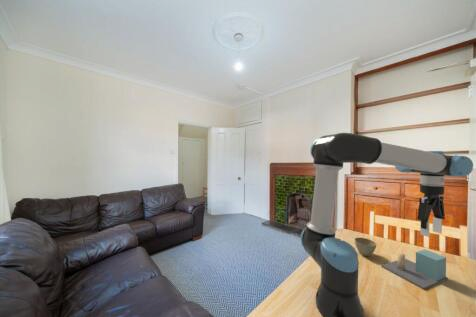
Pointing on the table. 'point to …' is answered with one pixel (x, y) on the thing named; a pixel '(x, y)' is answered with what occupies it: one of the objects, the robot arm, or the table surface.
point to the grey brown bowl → (365, 246)
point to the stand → (410, 272)
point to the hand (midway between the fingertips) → (431, 233)
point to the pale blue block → (431, 264)
